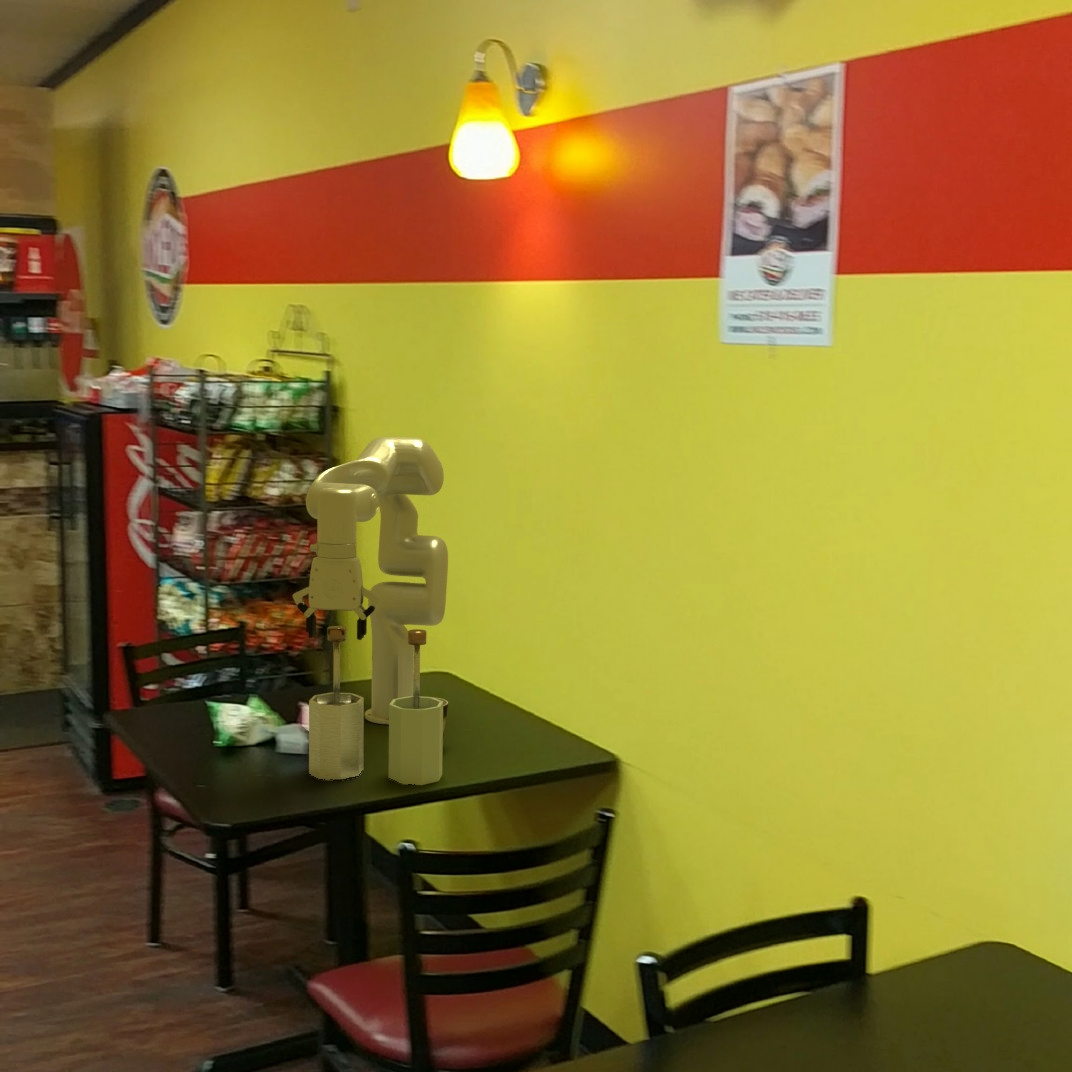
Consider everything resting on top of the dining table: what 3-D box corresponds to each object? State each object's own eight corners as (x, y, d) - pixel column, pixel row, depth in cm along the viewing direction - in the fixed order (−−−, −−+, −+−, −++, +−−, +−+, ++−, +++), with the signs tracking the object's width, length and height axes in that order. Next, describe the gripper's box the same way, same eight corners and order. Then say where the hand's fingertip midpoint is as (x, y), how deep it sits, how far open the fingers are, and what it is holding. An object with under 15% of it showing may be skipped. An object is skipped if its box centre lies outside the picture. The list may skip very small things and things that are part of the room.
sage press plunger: (400, 709, 264) (401, 626, 261) (438, 711, 263) (439, 628, 261) (393, 720, 256) (394, 634, 254) (431, 722, 255) (433, 636, 253)
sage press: (395, 767, 267) (396, 695, 264) (444, 770, 266) (445, 697, 264) (385, 783, 257) (386, 708, 255) (436, 786, 256) (437, 710, 254)
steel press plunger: (322, 706, 265) (322, 623, 263) (359, 707, 264) (360, 624, 262) (312, 716, 257) (312, 630, 255) (350, 718, 257) (351, 632, 254)
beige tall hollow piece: (318, 763, 268) (318, 691, 266) (366, 765, 267) (367, 694, 265) (305, 779, 258) (305, 704, 256) (355, 781, 257) (355, 707, 255)
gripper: (288, 552, 253) (288, 639, 256) (376, 555, 252) (375, 643, 254) (298, 547, 261) (298, 631, 263) (384, 550, 259) (383, 635, 262)
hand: (336, 637), depth 259 cm, fingers open, 9 cm apart
